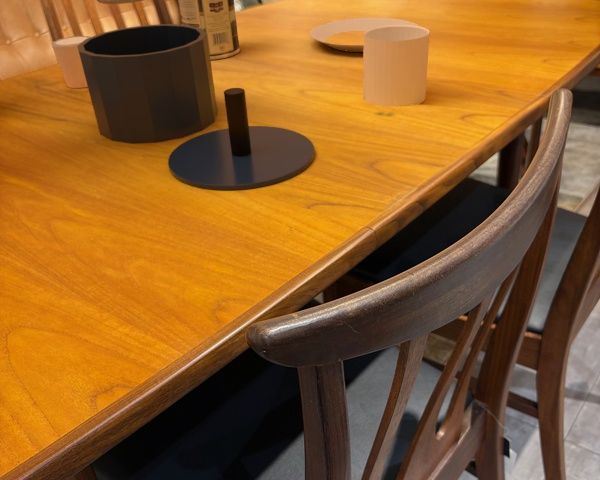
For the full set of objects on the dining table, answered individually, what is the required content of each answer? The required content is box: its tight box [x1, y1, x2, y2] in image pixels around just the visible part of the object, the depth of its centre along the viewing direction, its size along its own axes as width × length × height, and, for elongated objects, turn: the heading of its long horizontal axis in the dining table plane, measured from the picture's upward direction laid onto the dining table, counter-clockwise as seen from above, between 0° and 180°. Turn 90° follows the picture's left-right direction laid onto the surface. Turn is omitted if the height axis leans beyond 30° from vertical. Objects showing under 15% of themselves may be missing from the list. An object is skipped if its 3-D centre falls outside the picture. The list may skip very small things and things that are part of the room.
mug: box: [362, 25, 430, 108], centre depth 89 cm, size 12×9×9 cm
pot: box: [77, 23, 219, 145], centre depth 84 cm, size 17×17×12 cm
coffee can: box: [177, 0, 241, 61], centre depth 113 cm, size 10×10×14 cm
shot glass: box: [50, 35, 91, 89], centre depth 104 cm, size 7×7×7 cm
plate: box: [309, 17, 420, 53], centre depth 116 cm, size 21×21×2 cm
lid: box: [167, 87, 316, 191], centre depth 73 cm, size 18×18×9 cm
